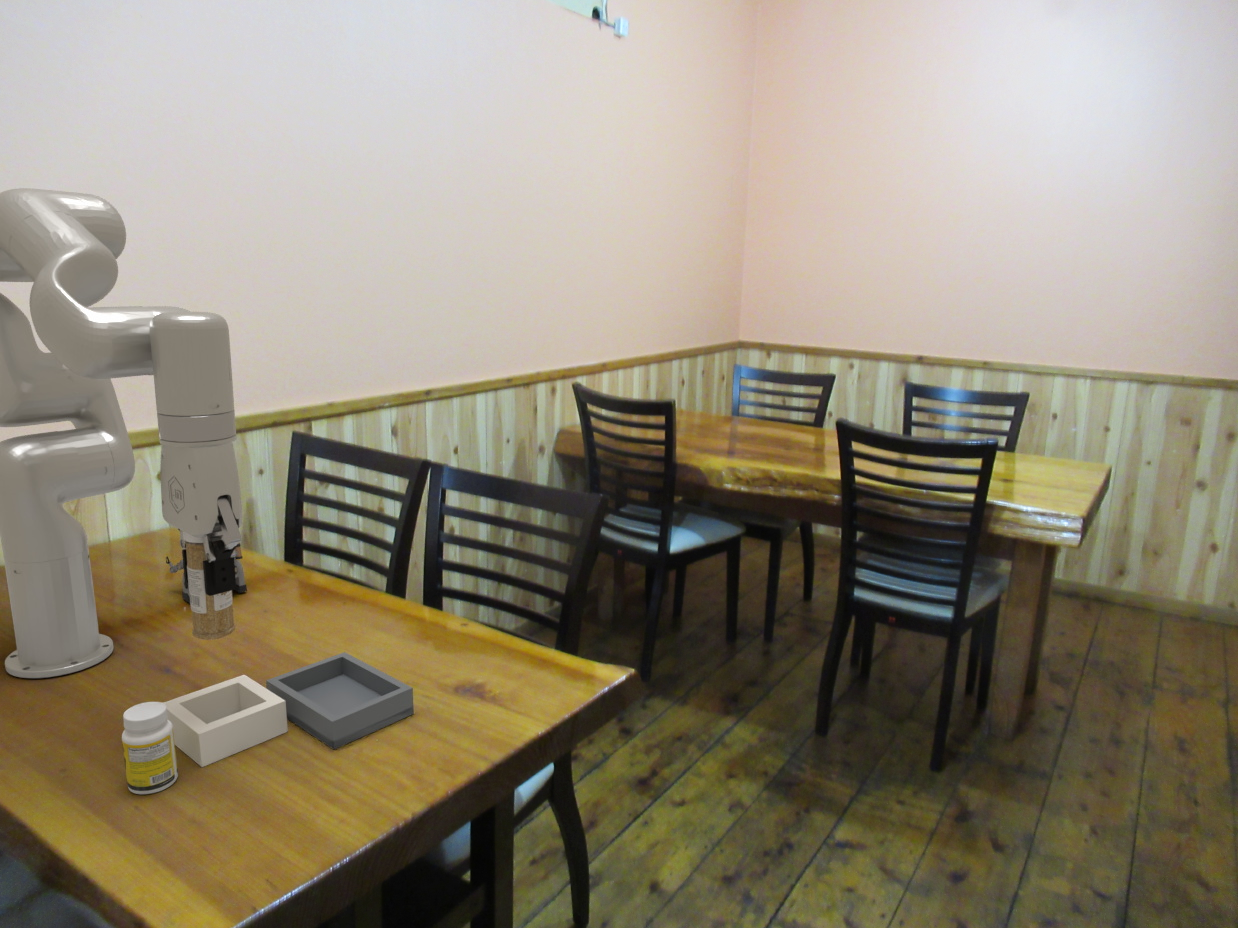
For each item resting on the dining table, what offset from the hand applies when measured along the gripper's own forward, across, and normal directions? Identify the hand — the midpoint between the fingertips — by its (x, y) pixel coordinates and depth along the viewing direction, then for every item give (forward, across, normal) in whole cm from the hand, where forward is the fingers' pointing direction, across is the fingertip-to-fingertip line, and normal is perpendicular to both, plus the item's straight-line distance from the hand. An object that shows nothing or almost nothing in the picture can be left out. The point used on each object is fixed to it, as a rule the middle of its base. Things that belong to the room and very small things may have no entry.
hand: (210, 584), depth 95 cm
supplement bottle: (+19, +5, -10) cm, 21 cm away
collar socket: (+18, +1, 0) cm, 18 cm away
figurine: (+19, -45, +19) cm, 53 cm away
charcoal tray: (+18, +6, +12) cm, 23 cm away
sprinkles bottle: (+6, 0, 0) cm, 6 cm away
